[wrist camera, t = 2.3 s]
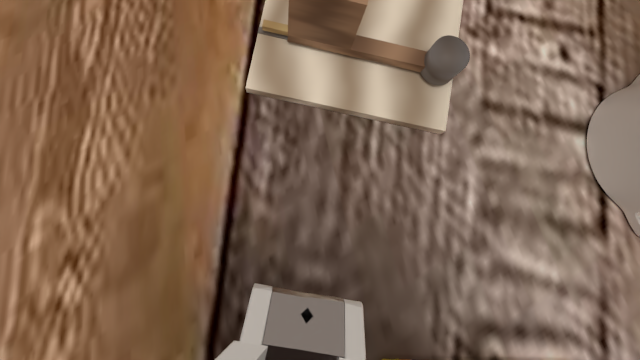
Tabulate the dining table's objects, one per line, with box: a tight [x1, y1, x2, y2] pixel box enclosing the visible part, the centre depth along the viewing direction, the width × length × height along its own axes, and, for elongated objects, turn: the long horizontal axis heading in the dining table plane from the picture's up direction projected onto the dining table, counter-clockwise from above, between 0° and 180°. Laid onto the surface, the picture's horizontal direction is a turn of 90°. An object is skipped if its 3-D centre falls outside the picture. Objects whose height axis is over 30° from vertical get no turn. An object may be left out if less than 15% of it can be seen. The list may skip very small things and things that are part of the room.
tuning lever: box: [262, 0, 470, 86], centre depth 31 cm, size 19×4×8 cm, turn 79°
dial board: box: [246, 0, 463, 134], centre depth 37 cm, size 20×20×1 cm
